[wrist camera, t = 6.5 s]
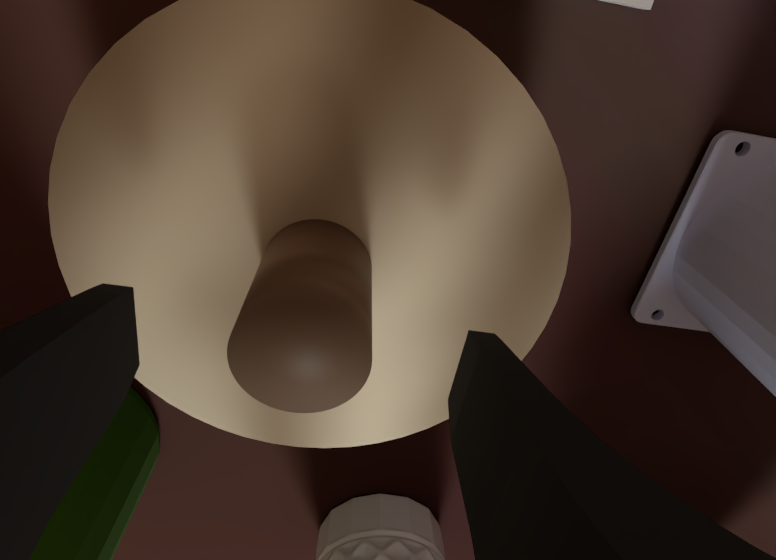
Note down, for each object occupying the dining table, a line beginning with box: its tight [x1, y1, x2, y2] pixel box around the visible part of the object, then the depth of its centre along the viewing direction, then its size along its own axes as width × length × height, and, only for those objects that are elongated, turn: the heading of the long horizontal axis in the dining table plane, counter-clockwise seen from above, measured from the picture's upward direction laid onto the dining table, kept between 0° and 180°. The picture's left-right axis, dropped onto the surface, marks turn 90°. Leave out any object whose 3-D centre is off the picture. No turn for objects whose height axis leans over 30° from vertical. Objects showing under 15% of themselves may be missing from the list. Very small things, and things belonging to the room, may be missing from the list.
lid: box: [48, 0, 571, 448], centre depth 13 cm, size 14×14×5 cm
